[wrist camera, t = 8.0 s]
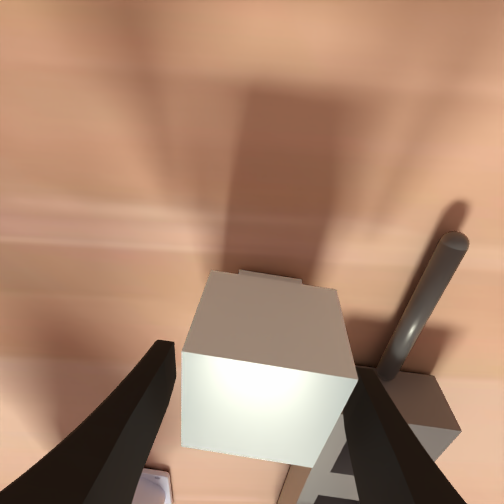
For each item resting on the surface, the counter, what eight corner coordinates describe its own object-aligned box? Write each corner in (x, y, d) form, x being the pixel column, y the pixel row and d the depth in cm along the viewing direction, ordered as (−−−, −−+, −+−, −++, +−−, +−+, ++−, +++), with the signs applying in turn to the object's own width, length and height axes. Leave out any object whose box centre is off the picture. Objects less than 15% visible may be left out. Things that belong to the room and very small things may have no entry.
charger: (213, 328, 16) (181, 446, 11) (220, 244, 13) (181, 351, 8) (303, 342, 16) (312, 467, 11) (329, 261, 13) (358, 379, 8)
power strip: (274, 510, 28) (272, 627, 22) (378, 217, 12) (475, 363, 6) (337, 519, 28) (352, 640, 22) (528, 236, 12) (779, 404, 6)
